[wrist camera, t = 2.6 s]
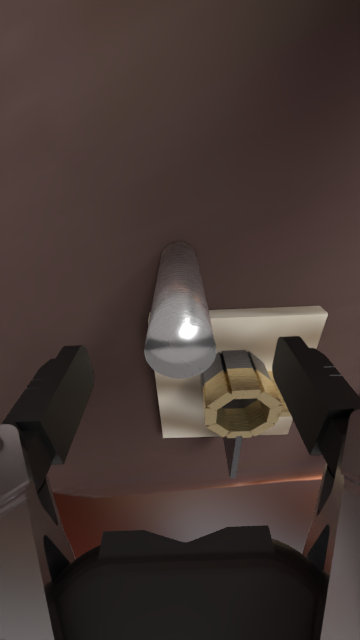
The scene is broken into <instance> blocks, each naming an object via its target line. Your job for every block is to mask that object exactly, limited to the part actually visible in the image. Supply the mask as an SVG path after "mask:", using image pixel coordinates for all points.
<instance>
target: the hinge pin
mask: <svg viewBox="0 0 360 640" xmlns="http://www.w3.org/2000/svg"><path fill="white" fill-rule="evenodd" d="M216 352H217V351H216V343H215V339H214V334H213V330H212V325H211V320H210V316H209V311H208V306H207V302H206V297H205V292H204V288H203V283H202V278H201V274H200V269H199V265H198V260H197V255H196V252H195V250H194V248H193V247H192V246H191V245H190V244H188V243H186V242H183V241H175V242H172V243H170V244H168V245H167V246H166V247H165V248H164V250H163V252H162V254H161V259H160V265H159V270H158V276H157V281H156V287H155V292H154V298H153V303H152V309H151V314H150V320H149V325H148V331H147V336H146V342H145V348H144V354H145V358H146V360H147V362H148V364H149V365H150V366H151V368H152V369H154V370H155V371H156V372H158V373H159V374H161V375H164V376H167V377H170V378H177V379H183V378H190V377H194V376H197V375H199V374H201V373H203V372H204V371H206V370H207V369H208V368H209V367H210V366H211V365H212V363H213V362H214V360H215V357H216Z"/></svg>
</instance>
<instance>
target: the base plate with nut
mask: <svg viewBox="0 0 360 640" xmlns="http://www.w3.org/2000/svg"><path fill="white" fill-rule="evenodd" d="M208 311H209V316H210V320H211V325H212V330H213V334H214V339H215V343H216V351H217V352H216V357H215V360H214V362H213V363H212V365H211V366H210V367H209V368H208V369H207V370H206V371H204V372H203V373H201V374H199V375H197V376H194V377H190V378H183V379H177V378H170V377H167V376H164V375H161V374H159V373H158V372H156V371H155V370H154V371H155V379H156V387H157V394H158V402H159V409H160V417H161V424H162V432H163V438H182V437H213V436H222V437H223V439H224V445H225V451H226V457H227V463H228V469H229V475H230V478H236V472H237V466H238V460H239V454H240V448H241V442H242V438H248V437H252V435H254V436H257V435H276V434H288V432H289V429H290V426H291V423H292V420H293V418H292V416H291V414H290V412H289V410H288V408H287V406H286V404H285V402H284V399H283V397H282V395H281V393H280V391H279V389H278V387H277V385H276V383H275V380H274V378H273V373H272V364H273V359H274V354H275V349H276V344H277V340H278V338H279V337H287V336H300V337H301V338H302V339H303V341H304V342H305V343H306V345H307V346H308V347H309V348H315V349H316V348H317V345H318V342H319V339H320V336H321V334H322V331H323V328H324V325H325V322H326V319H327V316H328V313H327V312H326V311H324V310H323V309H322V308H321V307H320V306H301V307H275V308H249V309H224V310H208ZM150 314H151V312H149V318H148V325H149V320H150Z"/></svg>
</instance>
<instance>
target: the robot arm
mask: <svg viewBox="0 0 360 640" xmlns="http://www.w3.org/2000/svg"><path fill="white" fill-rule="evenodd" d="M272 373H273V378H274V380H275V383H276V385H277V387H278V389H279V391H280V393H281V395H282V397H283V399H284V402H285V404H286V406H287V408H288V410H289V412H290V414H291V416H292V418H293V421H294V423H295V425H296V427H297V429H298V431H299V433H300V435H301V437H302V440H303V442H304V444H305V446H306V448H307V450H308V452H309V454H310V455H323V457H324V459H325V460H326V462H327V463H326V465H325V467H324V472H323V476H322V481H321V485H320V490H319V494H318V498H317V503H316V507H315V512H314V516H313V521H312V524H311V527H310V530H309V532H308V535H307V538H306V542H305V545H304V549H303V553H302V554H301V553H300V552H298V551H297V550H295V549H293V548H292V547H290V546H289V545H286V544H284V543H282V542H280V541H278V540H274V539H272V538H271V535H270V531H269V527H268V526H242V527H226V528H224V529H221V530H219V531H216V532H214V533H211V534H208V535H206V536H203V537H201V538H199V539H196V540H193V541H190V542H187V543H186V542H180V541H177V540H174V539H170V538H167V537H164V536H161V535H157V534H154V533H151V532H148V531H145V530H135V531H110V532H109V531H108V532H103V536H102V542H101V545H100V546H97V547H95V548H93V549H91V550H89V551H88V552H86V553H85V554H83V555H81V556H80V557H79V558H77V559H76V560H75V557H74V554H73V551H72V548H71V546H70V543H69V541H68V539H67V537H66V535H65V533H64V530H63V527H62V524H61V520H60V517H59V514H58V510H57V507H56V503H55V499H54V496H53V493H52V489H51V486H50V482H49V479H48V476H47V473H48V470H49V468H50V466H51V465H56V464H64V462H65V459H66V457H67V454H68V451H69V449H70V446H71V443H72V441H73V438H74V436H75V433H76V430H77V428H78V425H79V423H80V420H81V417H82V415H83V412H84V410H85V407H86V404H87V402H88V399H89V397H90V394H91V391H92V389H93V386H94V372H93V369H92V365H91V362H90V359H89V356H88V353H87V350H86V347H85V346H84V345H79V346H64V347H63V348H62V349H61V351H60V352H59V354H58V356H57V357H56V359H51V360H49V361H48V362H47V363H46V364H44V365H43V366H42V367H41V368H40V369H39V370H38V372H37V373H36V375H35V376H34V378H33V380H32V381H31V382H30V383H29V385H28V386H27V389H25V391H24V392H23V394H22V395H21V396H20V398H19V399H18V401H17V402H16V404H15V405H14V407H13V408H12V409H11V411H10V412H9V414H8V415H7V417H6V418H5V420H4V421H3V422H2V424H1V425H0V640H360V397H359V396H358V395H357V394H356V392H355V391H354V390H353V389H352V388H351V386H350V385H349V384H348V383H347V381H346V380H345V379H344V378H343V376H341V375H340V373H339V372H338V370H337V369H336V368H334V365H333V364H332V363H331V362H330V361H329V359H328V358H327V357H326V356H325V355H324V354H322V353H321V352H319V351H318V350H316V349H315V348H309V347H308V346H307V345H306V343H305V342H304V341H303V339H302V338H301V337H300V336H287V337H279V338H278V340H277V344H276V349H275V354H274V359H273V364H272Z"/></svg>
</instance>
